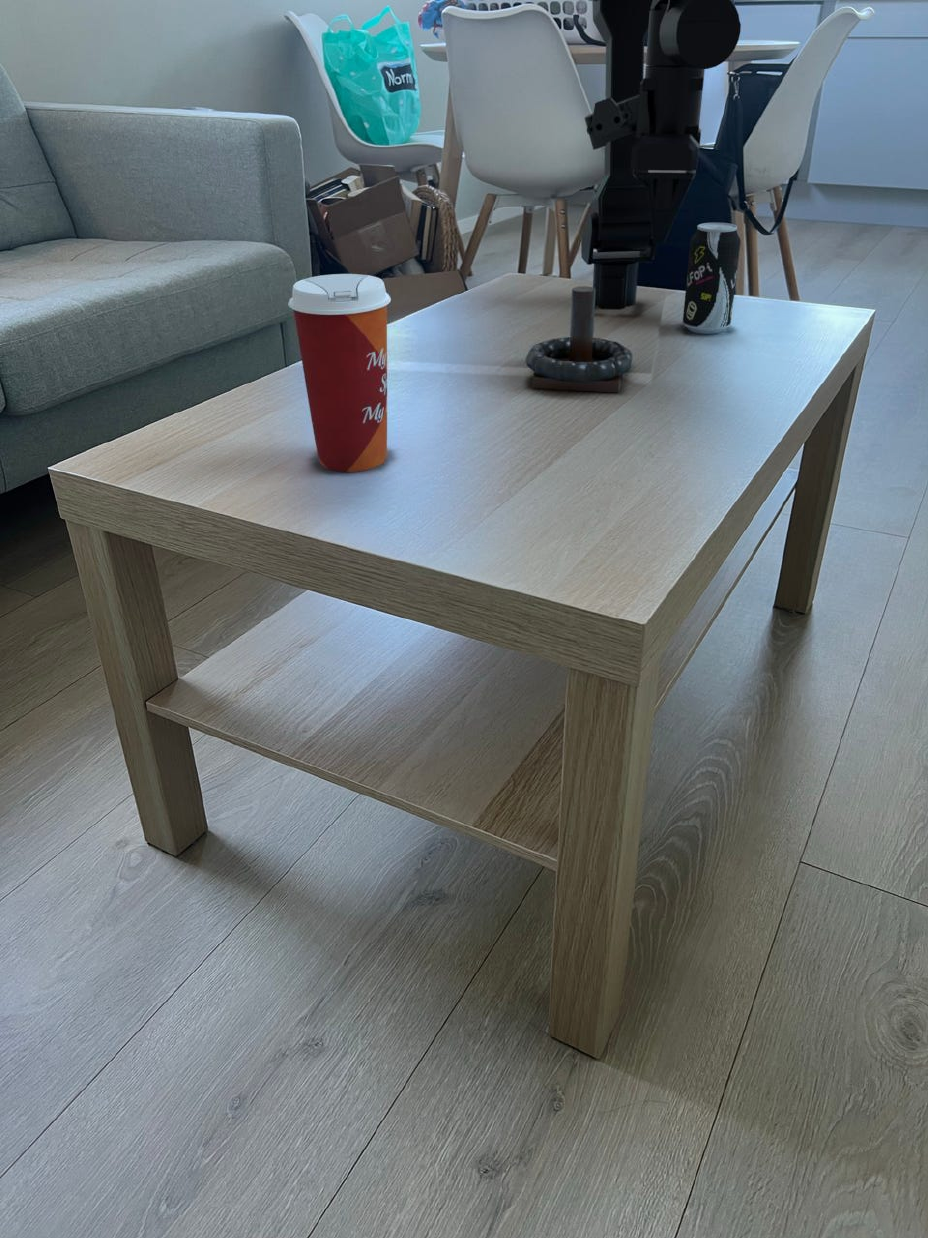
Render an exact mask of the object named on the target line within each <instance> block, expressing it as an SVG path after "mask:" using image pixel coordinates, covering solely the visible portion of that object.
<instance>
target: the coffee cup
mask: <svg viewBox="0 0 928 1238" xmlns="http://www.w3.org/2000/svg"><path fill="white" fill-rule="evenodd" d="M391 300H392V299H391V296H390V294H389V293H387V290H386V286H385V282H384V281H383V280H382V279H381V278H380V277H377V276H375V275H368V274H358V273H334V274H333V273H332V274H323V275H322V274H321V275H316V276H311V277H307V278H304V279H300V280H298V281H296V282H295V283H294V284H293V286H292V297H290V298H289V300H288V307H289V308H290V309H291V310H293V313H294V314H293V315H294V321H295V327H296V333H297V339H298V345H299V351H300V358H301V362H302V370H303V374H304V377H303V378H304V382H305V387H306V395H307V401H308V405H309V413H310V418H311V424H312V430H313V436H314V443H315V447H316V453H317V458H318V461H319V463H320V465H321V466H322V467H323V468H325V469H326V470H330V471H334V472H340V473H341V472H343V473H356V472H363V471H369V470H373V469H375V468H378V467H380V466H381V465H382V464H384V463H385V462H386V460H387V453H388V305H389V304H390V303H391Z"/></svg>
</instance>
